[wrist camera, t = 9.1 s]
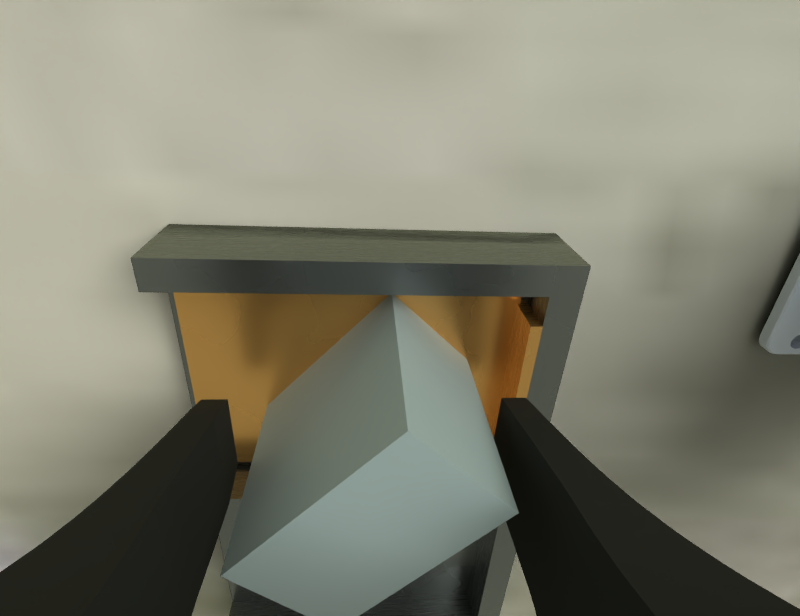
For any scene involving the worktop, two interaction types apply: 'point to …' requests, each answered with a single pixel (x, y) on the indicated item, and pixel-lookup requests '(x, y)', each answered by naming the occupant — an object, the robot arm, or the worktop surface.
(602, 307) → the worktop surface
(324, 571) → the pale blue block
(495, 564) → the tray
